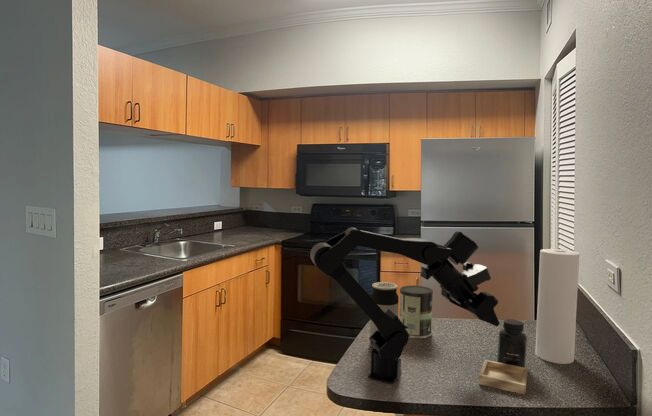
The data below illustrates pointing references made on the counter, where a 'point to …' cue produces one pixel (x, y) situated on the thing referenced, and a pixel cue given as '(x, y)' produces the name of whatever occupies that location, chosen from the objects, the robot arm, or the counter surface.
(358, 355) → the counter surface
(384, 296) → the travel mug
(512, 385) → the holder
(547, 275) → the paper towel roll
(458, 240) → the robot arm
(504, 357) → the supplement bottle
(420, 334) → the coffee can
